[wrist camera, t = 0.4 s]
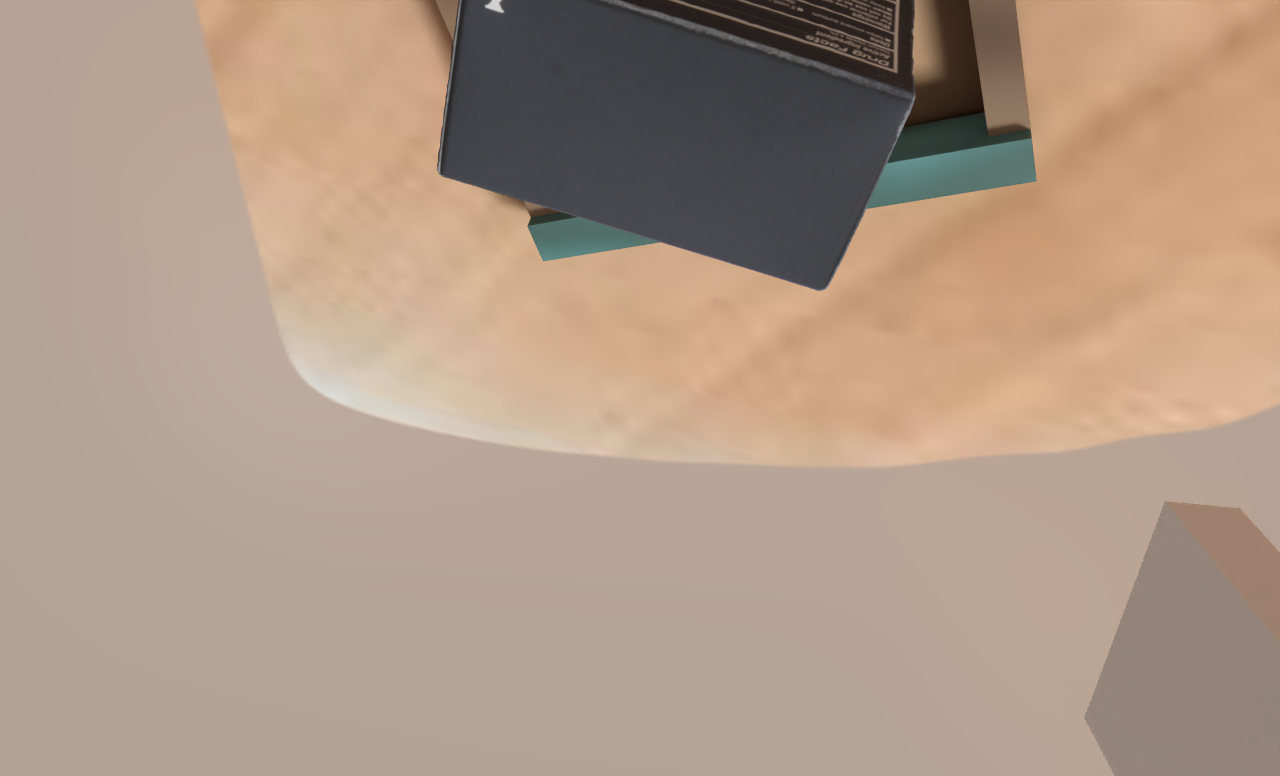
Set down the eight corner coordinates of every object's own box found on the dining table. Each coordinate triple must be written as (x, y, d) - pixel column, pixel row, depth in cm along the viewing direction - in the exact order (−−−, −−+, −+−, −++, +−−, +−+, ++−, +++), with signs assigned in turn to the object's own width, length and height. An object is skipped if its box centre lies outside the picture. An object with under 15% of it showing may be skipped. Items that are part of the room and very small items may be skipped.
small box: (528, 5, 37) (423, 186, 29) (566, -209, 32) (453, -59, 25) (846, 105, 37) (823, 309, 30) (928, -94, 33) (925, 88, 25)
